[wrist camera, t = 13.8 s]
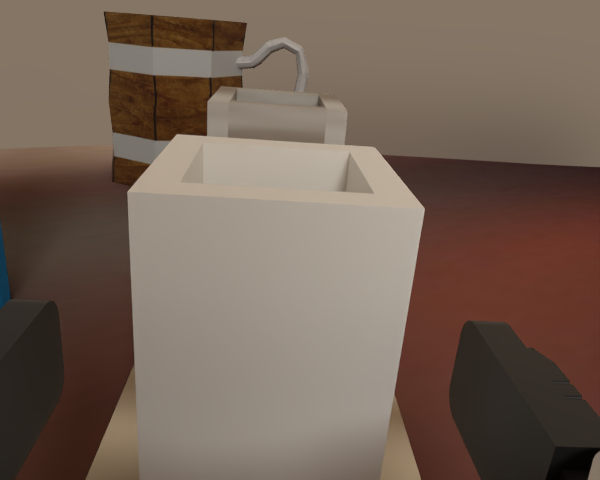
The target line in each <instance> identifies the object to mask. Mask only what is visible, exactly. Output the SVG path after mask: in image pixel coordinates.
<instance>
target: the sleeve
mask: <svg viewBox="0 0 600 480" xmlns="http://www.w3.org/2000/svg"><path fill="white" fill-rule="evenodd" d="M127 195H128V218H129V242H130V266H131V289H132V313H133V336H134V360H135V384H136V407H137V431H138V455H139V478H140V480H380V476H381V470H382V464H383V457H384V451H385V445H386V439H387V433H388V427H389V421H390V415H391V409H392V403H393V397H394V391H395V385H396V379H397V373H398V367H399V361H400V355H401V349H402V343H403V337H404V331H405V325H406V319H407V313H408V307H409V301H410V295H411V289H412V283H413V277H414V271H415V265H416V259H417V253H418V247H419V241H420V235H421V229H422V223H423V217H424V211H425V209H424V207H423V206H422V205H421V204H420V202H419V201H418V200H417V199H416V197H415V196H414V195H413V194H412V193H411V191H410V190H409V189H408V188H407V186H406V185H405V184H404V183H403V181H402V180H401V179H400V178H399V177H398V175H397V174H396V173H395V172H394V170H393V169H392V168H391V167H390V165H389V164H388V163H387V162H386V161H385V159H384V158H383V157H382V156H381V154H380V153H379V152H378V151H377V149H376V148H375V147H365V146H350V145H334V144H319V143H303V142H288V141H273V140H257V139H242V138H227V137H211V136H196V135H181V134H177V135H176V136H175V137H174V138H173V139H172V141H171V142H170V143H169V144H168V145H167V146H166V147H165V149H164V150H163V151H162V152H161V153H160V154H159V156H158V157H157V158H156V159H155V160H154V161H153V163H152V164H151V165H150V166H149V167H148V168H147V170H146V171H145V172H144V173H143V174H142V175H141V177H140V178H139V179H138V180H137V181H136V182H135V184H134V185H133V186H132V187H131V188H130V189H129V190H128V192H127Z"/></svg>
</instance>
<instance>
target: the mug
mask: <svg viewBox="0 0 600 480" xmlns="http://www.w3.org/2000/svg"><path fill="white" fill-rule="evenodd" d="M104 16H105V23H106V29H107V35H108V41H109V59H110V77H109V78H110V79H109V107H110V114H111V122H112V130H113V162H112V182H116V183H120V184H124V185H128V186H133V185H134V184H135V182H136V181H137V180H138V179H139V178H140V177H141V175H142V174H143V173H144V172H145V171H146V170H147V168H148V167H149V166H150V165H151V164H152V163H153V161H154V160H155V159H156V158H157V157H158V156H159V154H160V153H161V152H162V151H163V150H164V149H165V147H166V146H167V145H168V144H169V143H170V142H171V141H172V139H173V138H174V137H175V136H176V135H177V134H181V135H196V136H207V103H208V100H209V99H210V98H211V97H212V96H213V95H214V94H215V93H216V91H217V90H218V89H219V88H220V87H221V86H224V87H238V88H243V87H242V69H246V68H255V67H256V66H258V65H260V64H261V63H262V62H263V61H264V60H265V59H266V58H267V57H268V56H269V55H270V54H271V53H272V52H275V51H278V50H280V49H283V48H285V49H287V50H288V51H290V52H292V53H294V54H296V61H297V71H298V76H297V80H296V84H295V89H294V92H306V86H307V81H308V75H309V69H308V65H307V61H306V57H305V53H304V49H303V47H302V46H300V45H298V44H296V43H295V42H292V41H291V40H289V39H287V38H286V37H281V38H278V39H275V40H271V41H268V42H266V43H265V44H264V45H263V46H261V47H260V48H259V49H258V50H257V51H256V52H255V53H254V54H252V55H251V56H242V55H243V45H244V39H245V31H246V25H247V23H241V22H229V21H218V20H206V19H194V18H180V17H169V16H155V15H143V14H129V13H116V12H104Z"/></svg>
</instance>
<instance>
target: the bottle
mask: <svg viewBox="0 0 600 480" xmlns="http://www.w3.org/2000/svg"><path fill="white" fill-rule="evenodd" d="M9 300H11V299H10V289H9V282H8V274H7V267H6V259H5V252H4V244H3V237H2V229H1V222H0V309H1V308H2V307H3V306H4V305H5V304H6V303H7V302H8V301H9Z"/></svg>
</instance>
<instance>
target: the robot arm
mask: <svg viewBox="0 0 600 480" xmlns="http://www.w3.org/2000/svg"><path fill="white" fill-rule="evenodd" d="M63 381H64V365H63V355H62V344H61V334H60V323H59V313H58V308H57V305H56V304H55V302H54V301H47V300H25V299H11V300H9V301H8V302H7V303H6V304H5V305H4V306H3V307H2V308H1V309H0V480H14V479H15V477H16V476H17V474H18V472H19V470H20V469H21V467H22V465H23V463H24V461H25V460H26V458H27V456H28V454H29V453H30V451H31V449H32V447H33V446H34V444H35V442H36V440H37V439H38V437H39V435H40V433H41V431H42V430H43V428H44V426H45V424H46V423H47V421H48V419H49V417H50V416H51V414H52V412H53V410H54V409H55V407H56V405H57V403H58V401H59V398H60V395H61V392H62V387H63ZM569 382H570V381H569V380H568V379H567V377H566V376H565V375H564V374H563V373H562V371H561V370H560V369H559V368H558V366H557V365H556V364H555V363H554V362H552V361H551V360H549V359H548V358H546V357H545V356H543V355H542V354H541V353H539V352H538V351H536V350H535V349H533V348H526V347H525V345H524V344H523V343H522V341H521V340H520V339H519V338H518V336H517V335H516V334H515V332H514V331H513V330H512V329H511V327H510V326H509V325H508V324H507V323H505V322H489V321H467V322H466V323H465V324H464V326H463V328H462V331H461V336H460V340H459V345H458V350H457V355H456V359H455V364H454V369H453V373H452V378H451V383H450V390H449V401H450V409H451V413H452V416H453V419H454V421H455V423H456V425H457V428H458V430H459V432H460V434H461V436H462V439H463V441H464V443H465V445H466V447H467V450H468V452H469V454H470V456H471V458H472V461H473V463H474V465H475V467H476V469H477V472H478V474H479V476H480V478H481V480H600V417H599V416H598V415H597V414H596V412H595V411H594V410H593V409H592V408H591V406H590V405H589V404H588V403H587V402H586V400H582V396H581V394H580V393H579V392H578V391H577V389H576V388H575V387H574V386H573V385H570V383H569Z"/></svg>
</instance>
